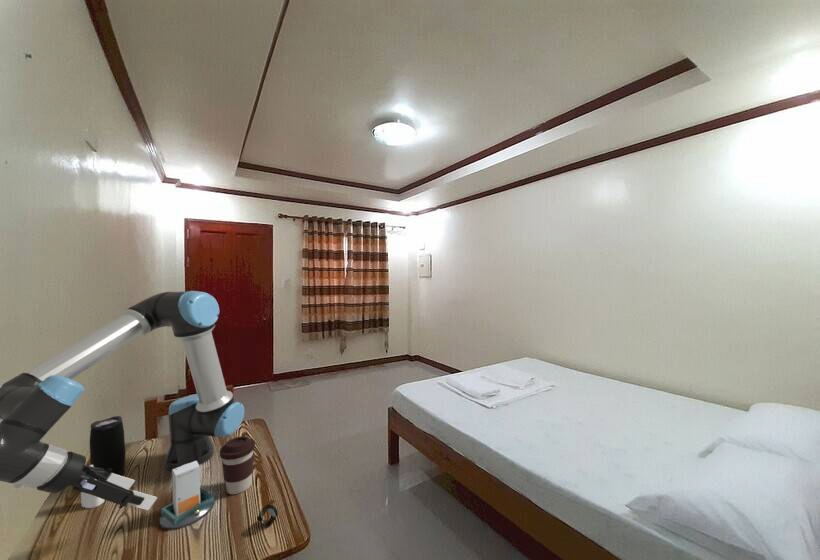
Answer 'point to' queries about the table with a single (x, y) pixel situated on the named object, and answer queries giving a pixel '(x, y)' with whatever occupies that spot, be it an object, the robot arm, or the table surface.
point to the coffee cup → (238, 464)
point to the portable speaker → (108, 445)
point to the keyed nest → (187, 513)
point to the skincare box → (186, 487)
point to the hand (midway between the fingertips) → (141, 494)
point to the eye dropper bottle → (90, 500)
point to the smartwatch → (271, 511)
